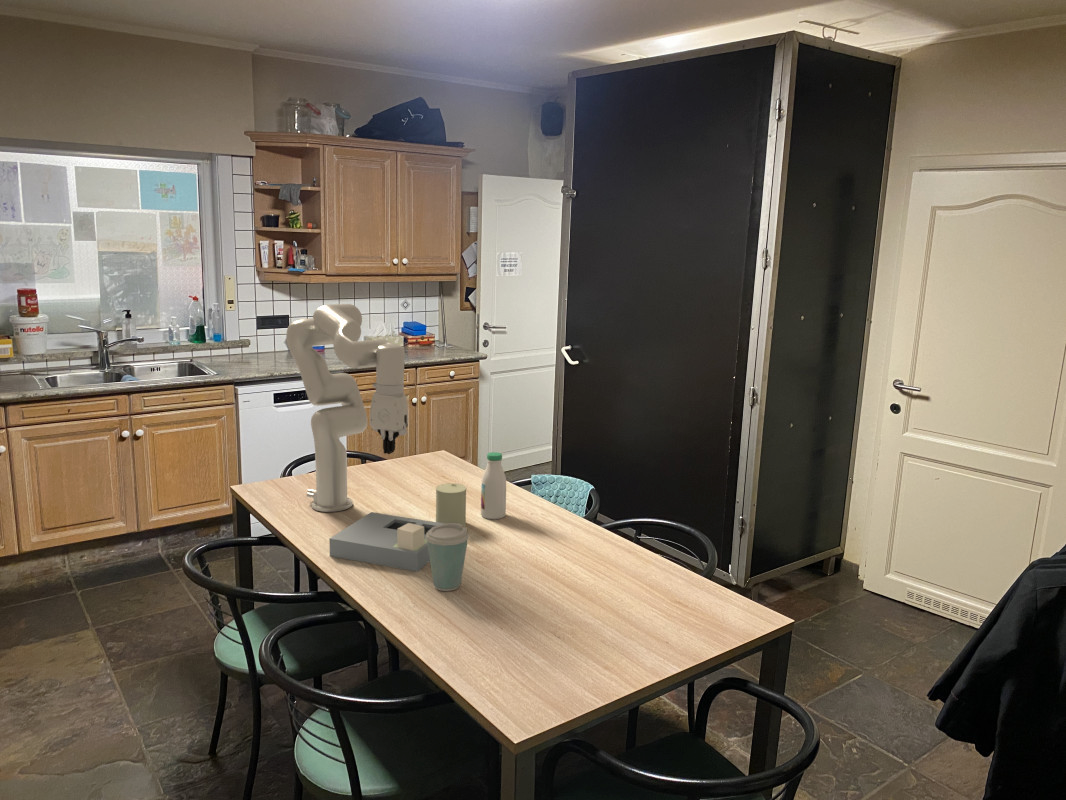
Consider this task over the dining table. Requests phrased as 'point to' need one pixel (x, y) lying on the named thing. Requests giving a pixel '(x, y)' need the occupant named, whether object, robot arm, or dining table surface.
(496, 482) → the milk bottle
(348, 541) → the box
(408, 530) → the block
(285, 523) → the dining table surface
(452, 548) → the disposable coffee cup
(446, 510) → the can
